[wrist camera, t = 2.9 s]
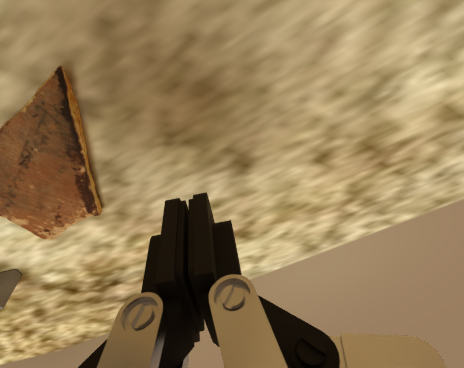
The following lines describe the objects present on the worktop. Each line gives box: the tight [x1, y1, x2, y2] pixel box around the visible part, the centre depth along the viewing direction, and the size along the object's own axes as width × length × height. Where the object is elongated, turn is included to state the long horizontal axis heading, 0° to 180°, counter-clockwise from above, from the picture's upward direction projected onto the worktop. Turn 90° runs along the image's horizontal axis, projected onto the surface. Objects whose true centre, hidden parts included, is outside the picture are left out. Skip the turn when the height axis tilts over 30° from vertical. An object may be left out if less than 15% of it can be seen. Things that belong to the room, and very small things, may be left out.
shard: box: [0, 66, 102, 240], centre depth 18 cm, size 11×8×2 cm
